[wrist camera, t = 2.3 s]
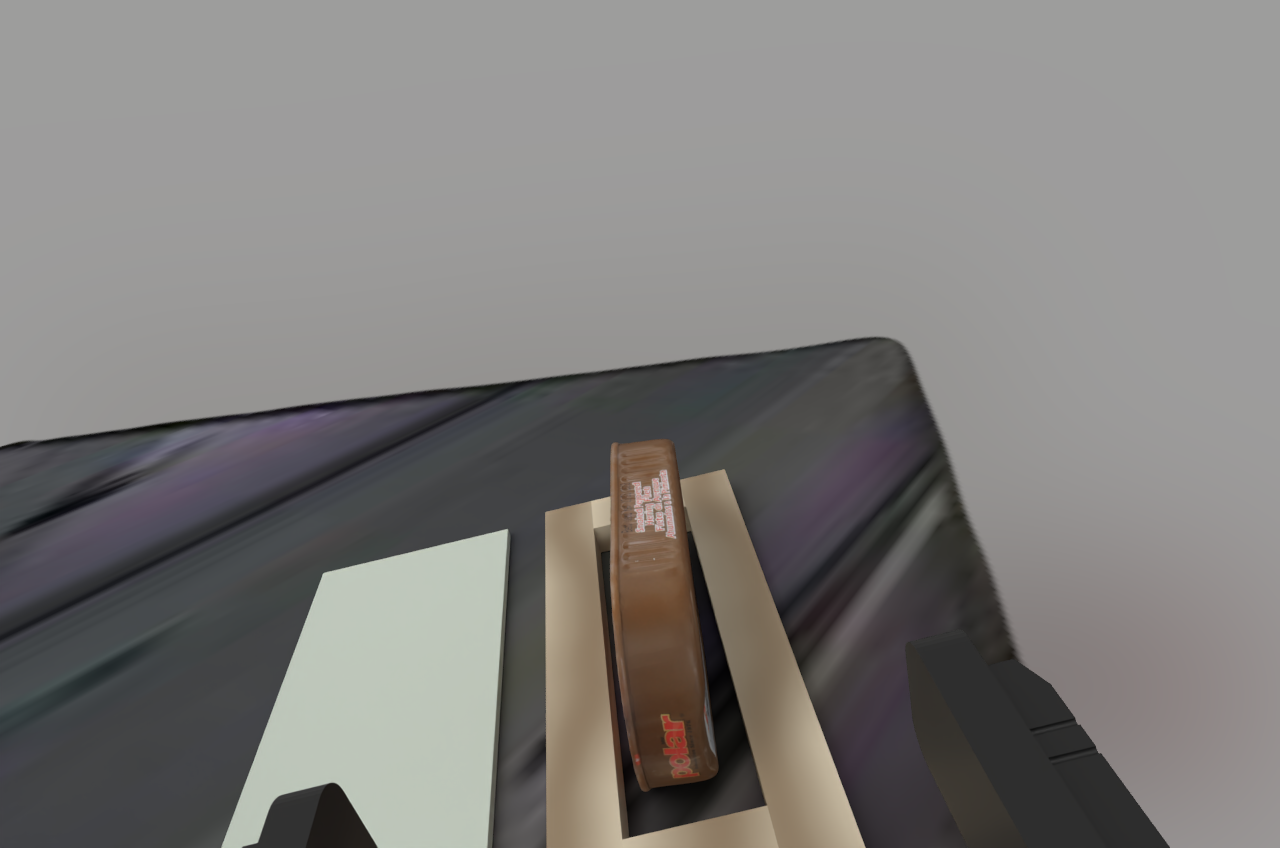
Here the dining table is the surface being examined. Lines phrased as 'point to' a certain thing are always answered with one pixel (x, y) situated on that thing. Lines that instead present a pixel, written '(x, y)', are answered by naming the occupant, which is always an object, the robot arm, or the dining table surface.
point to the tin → (657, 620)
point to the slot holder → (759, 668)
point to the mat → (395, 698)
